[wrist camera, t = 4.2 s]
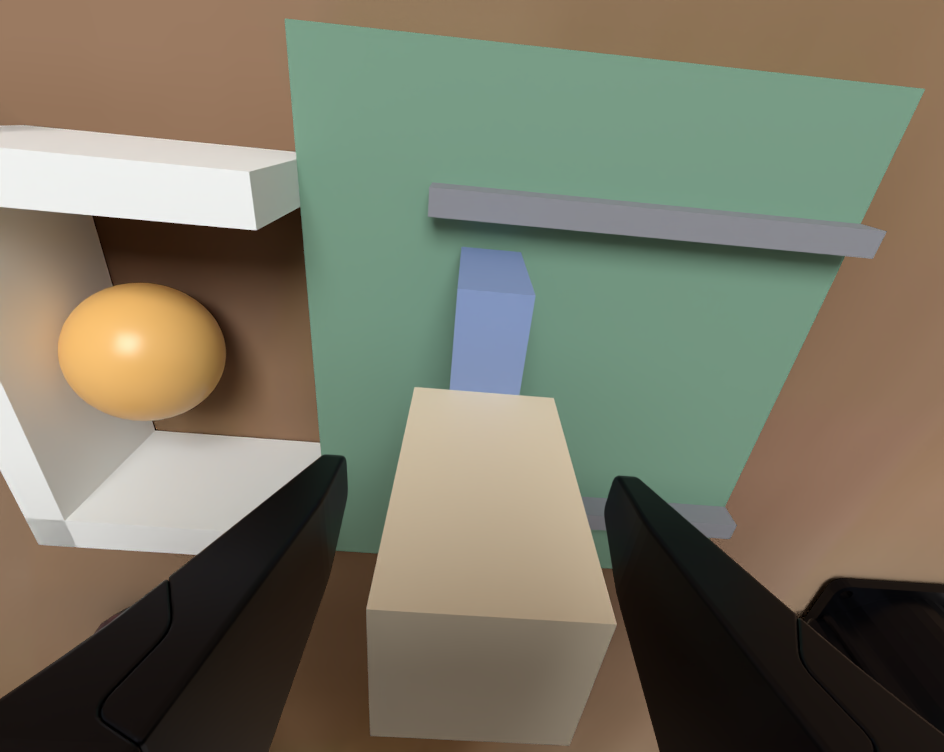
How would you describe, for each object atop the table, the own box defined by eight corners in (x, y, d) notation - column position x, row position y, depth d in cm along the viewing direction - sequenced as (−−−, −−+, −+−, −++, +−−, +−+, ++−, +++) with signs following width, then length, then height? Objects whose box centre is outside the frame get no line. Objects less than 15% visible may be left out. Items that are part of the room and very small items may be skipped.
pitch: (871, 91, 11) (960, 87, 9) (676, 540, 18) (702, 593, 16) (308, 30, 10) (269, 10, 8) (339, 517, 18) (322, 569, 16)
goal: (316, 154, 12) (249, 171, 8) (336, 466, 17) (299, 561, 13) (24, 124, 11) (-175, 130, 8) (132, 451, 16) (38, 544, 13)
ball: (84, 262, 13) (229, 267, 13) (121, 378, 14) (247, 376, 15) (-7, 313, 10) (186, 316, 10) (53, 452, 11) (216, 446, 12)
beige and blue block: (550, 254, 11) (673, 483, 4) (511, 481, 14) (545, 808, 8) (431, 244, 11) (361, 459, 4) (420, 474, 14) (372, 800, 8)
